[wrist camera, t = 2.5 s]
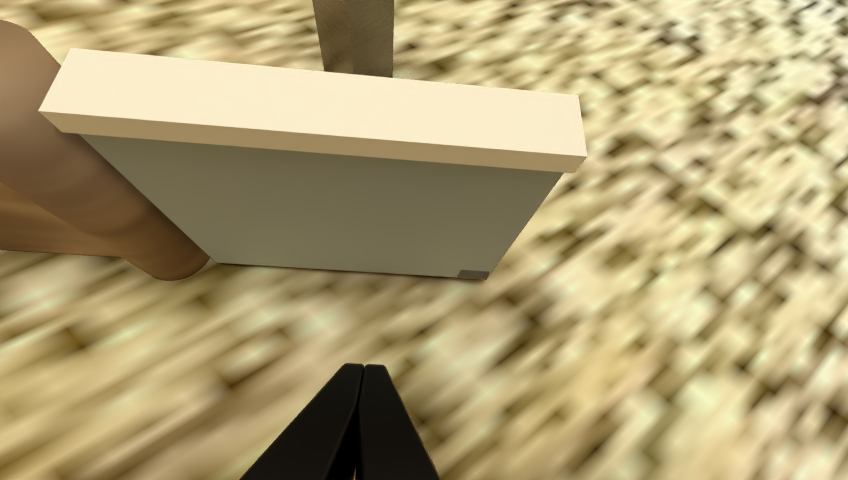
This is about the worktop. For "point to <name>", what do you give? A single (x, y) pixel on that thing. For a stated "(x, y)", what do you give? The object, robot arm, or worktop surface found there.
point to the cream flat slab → (323, 159)
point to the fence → (71, 180)
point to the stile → (356, 36)
